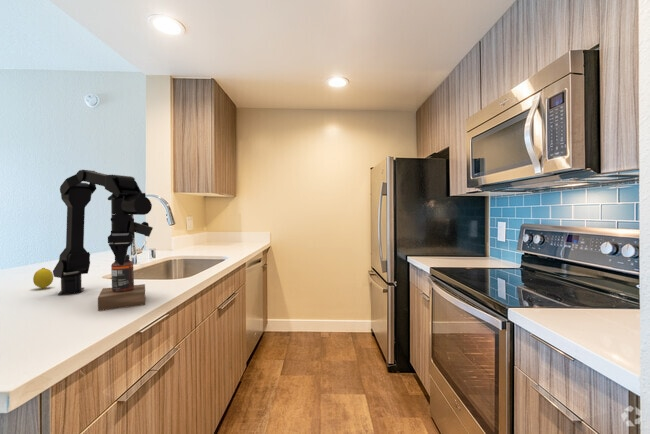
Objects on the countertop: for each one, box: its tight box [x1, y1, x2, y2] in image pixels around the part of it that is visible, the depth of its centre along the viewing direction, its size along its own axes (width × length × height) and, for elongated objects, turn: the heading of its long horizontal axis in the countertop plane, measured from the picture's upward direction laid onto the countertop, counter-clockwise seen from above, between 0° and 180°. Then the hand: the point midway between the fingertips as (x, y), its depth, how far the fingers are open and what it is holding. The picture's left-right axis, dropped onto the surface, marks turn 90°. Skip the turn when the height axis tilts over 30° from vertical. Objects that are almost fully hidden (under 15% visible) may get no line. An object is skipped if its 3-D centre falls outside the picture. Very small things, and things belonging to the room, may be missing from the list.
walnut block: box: [97, 283, 146, 312], centre depth 98 cm, size 12×12×4 cm
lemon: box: [32, 267, 54, 290], centre depth 114 cm, size 6×6×8 cm
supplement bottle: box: [111, 254, 135, 292], centre depth 97 cm, size 6×6×11 cm
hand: (122, 262), depth 97 cm, fingers open, 9 cm apart
